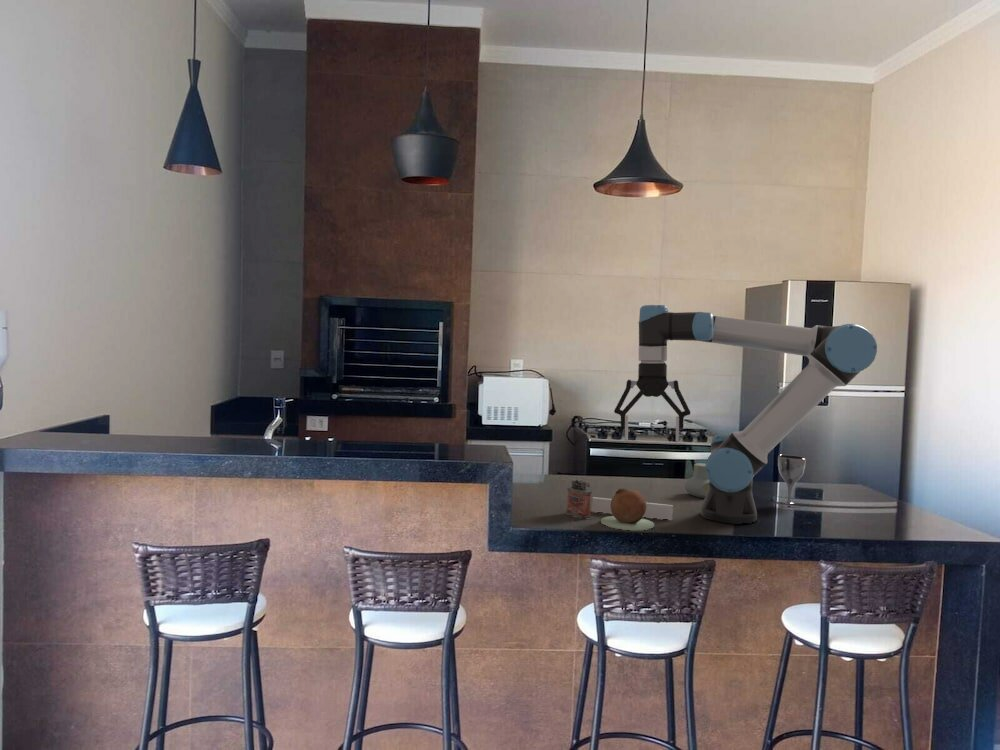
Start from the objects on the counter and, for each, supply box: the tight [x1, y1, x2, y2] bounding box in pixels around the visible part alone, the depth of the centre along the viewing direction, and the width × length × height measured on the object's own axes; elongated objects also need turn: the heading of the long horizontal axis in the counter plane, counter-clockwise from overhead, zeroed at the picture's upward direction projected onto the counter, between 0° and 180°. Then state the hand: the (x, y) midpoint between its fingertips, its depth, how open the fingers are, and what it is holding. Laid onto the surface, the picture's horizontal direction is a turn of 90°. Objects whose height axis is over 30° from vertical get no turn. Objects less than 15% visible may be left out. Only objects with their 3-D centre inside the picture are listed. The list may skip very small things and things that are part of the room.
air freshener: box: [684, 462, 709, 499], centre depth 249 cm, size 11×8×10 cm
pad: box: [600, 515, 655, 532], centre depth 209 cm, size 14×14×1 cm
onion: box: [611, 488, 647, 524], centre depth 209 cm, size 10×9×10 cm
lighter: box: [565, 478, 592, 519], centre depth 216 cm, size 8×3×10 cm, turn 40°
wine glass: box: [777, 453, 807, 504], centre depth 241 cm, size 8×8×15 cm
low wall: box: [591, 496, 674, 521], centre depth 219 cm, size 22×1×4 cm, turn 74°
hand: (651, 440), depth 214 cm, fingers open, 13 cm apart
